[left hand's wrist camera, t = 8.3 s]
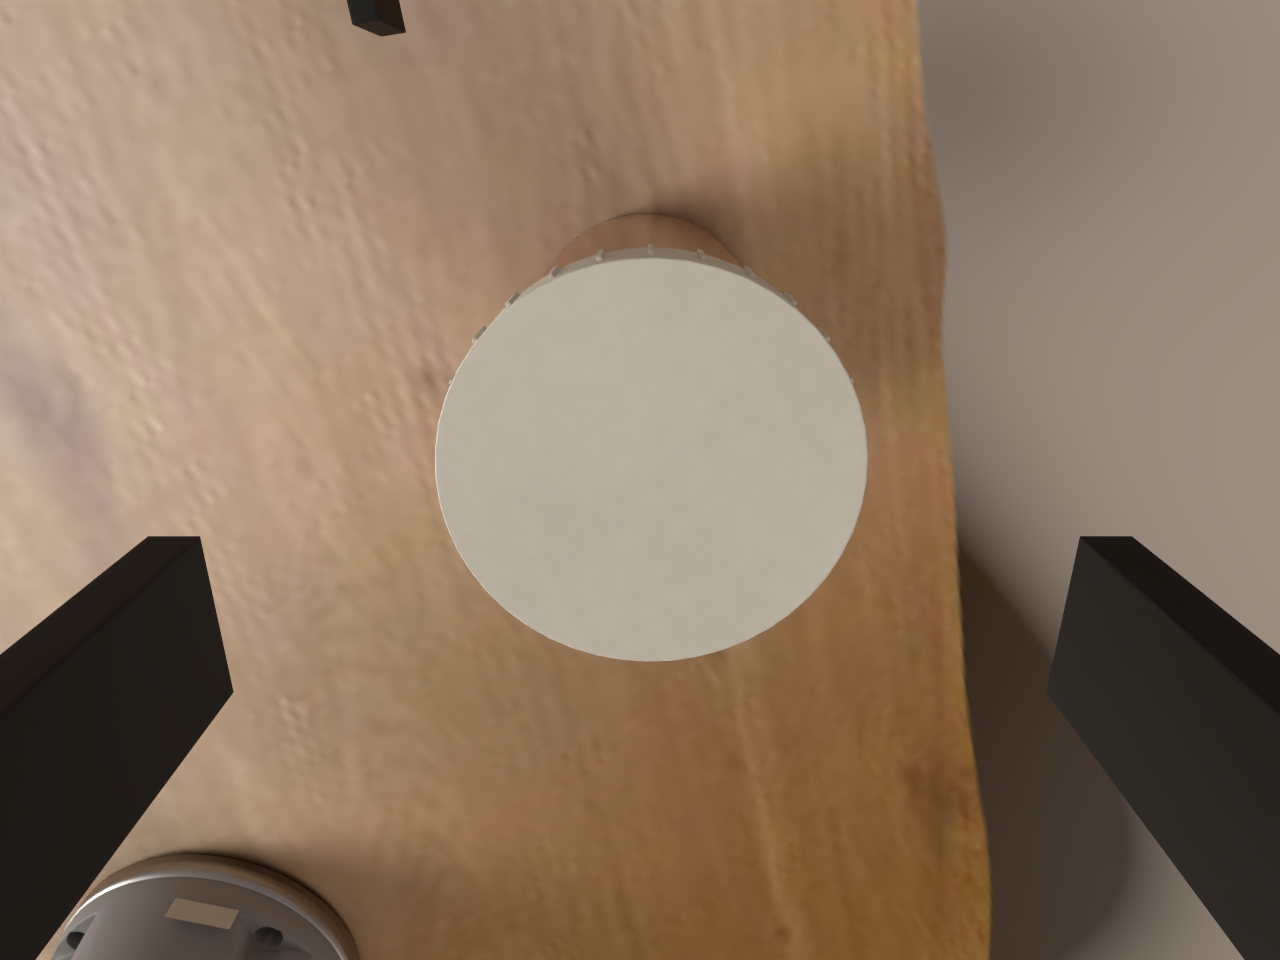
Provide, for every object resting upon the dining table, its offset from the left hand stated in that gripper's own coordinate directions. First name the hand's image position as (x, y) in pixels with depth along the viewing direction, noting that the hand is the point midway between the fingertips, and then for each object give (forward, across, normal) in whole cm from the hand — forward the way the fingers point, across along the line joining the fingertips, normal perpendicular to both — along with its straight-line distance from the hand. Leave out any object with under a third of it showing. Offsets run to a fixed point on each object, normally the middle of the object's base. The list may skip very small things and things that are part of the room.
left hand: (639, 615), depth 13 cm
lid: (+6, 0, 0) cm, 6 cm away
